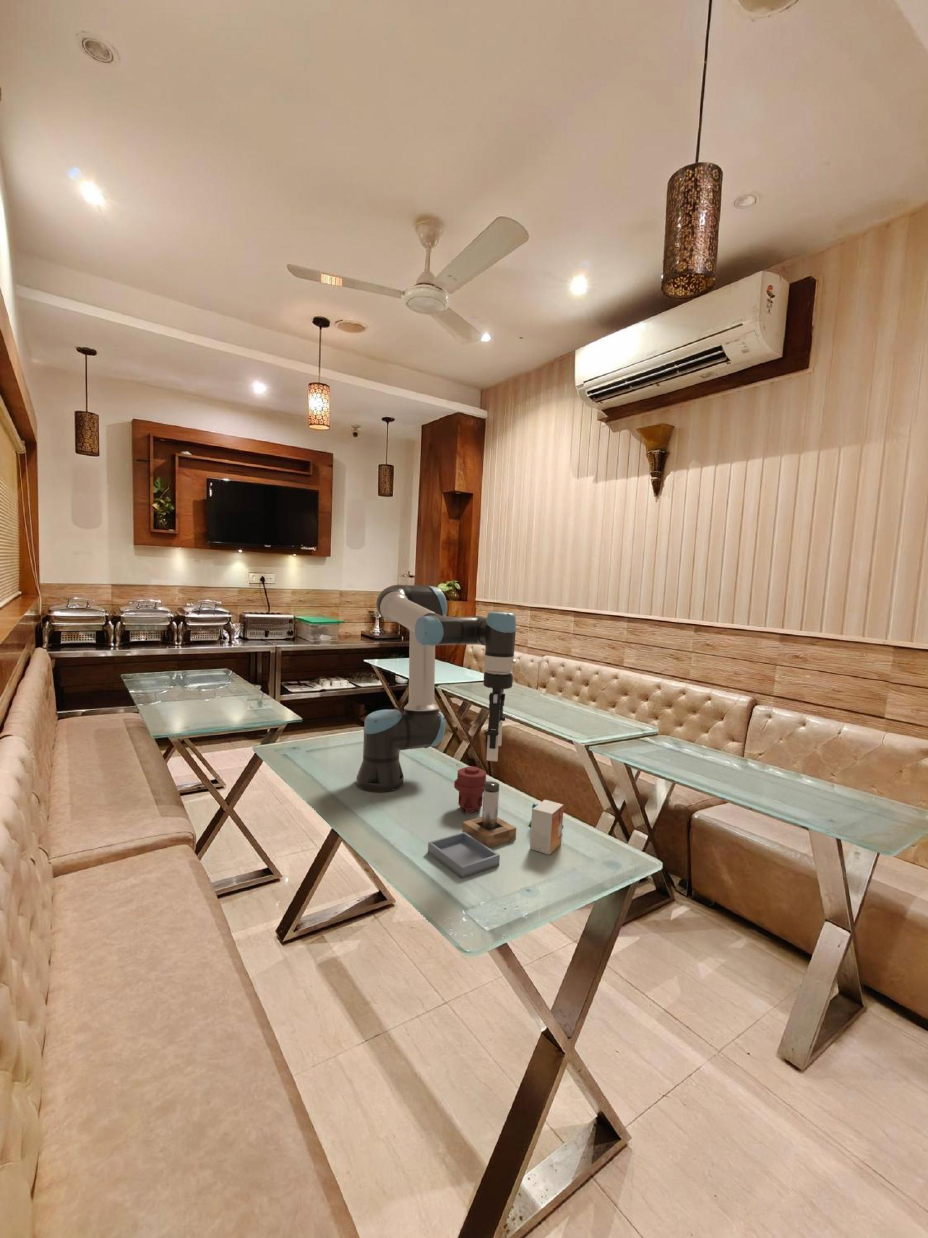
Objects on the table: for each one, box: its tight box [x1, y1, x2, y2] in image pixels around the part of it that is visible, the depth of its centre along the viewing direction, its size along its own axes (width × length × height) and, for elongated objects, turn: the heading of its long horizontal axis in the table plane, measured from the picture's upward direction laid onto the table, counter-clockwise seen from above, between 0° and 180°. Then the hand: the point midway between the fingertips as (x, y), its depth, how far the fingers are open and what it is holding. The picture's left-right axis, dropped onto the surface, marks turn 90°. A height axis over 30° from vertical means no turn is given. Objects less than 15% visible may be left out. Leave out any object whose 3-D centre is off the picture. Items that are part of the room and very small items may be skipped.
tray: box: [427, 832, 501, 879], centre depth 131 cm, size 14×11×2 cm
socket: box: [461, 816, 517, 849], centre depth 144 cm, size 10×10×3 cm
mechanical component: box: [453, 766, 488, 815], centre depth 160 cm, size 12×10×10 cm
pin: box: [481, 780, 500, 831], centre depth 143 cm, size 4×4×14 cm
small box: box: [529, 799, 565, 855], centre depth 139 cm, size 8×6×10 cm
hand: (494, 752), depth 143 cm, fingers open, 13 cm apart
